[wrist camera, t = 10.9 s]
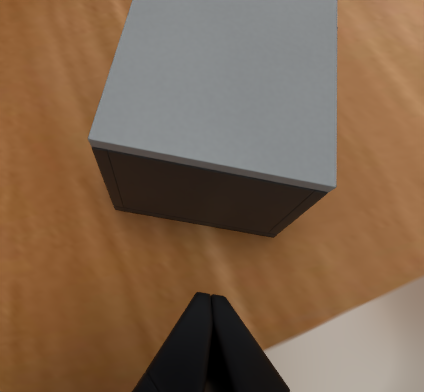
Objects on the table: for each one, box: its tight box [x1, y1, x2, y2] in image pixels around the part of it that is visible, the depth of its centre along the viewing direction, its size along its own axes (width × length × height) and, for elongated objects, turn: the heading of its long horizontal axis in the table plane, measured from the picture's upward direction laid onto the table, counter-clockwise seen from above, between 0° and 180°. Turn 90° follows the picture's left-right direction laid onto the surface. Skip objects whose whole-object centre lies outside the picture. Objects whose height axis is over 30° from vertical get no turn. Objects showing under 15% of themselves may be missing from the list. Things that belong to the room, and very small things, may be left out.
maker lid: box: [88, 0, 337, 192], centre depth 18 cm, size 14×13×1 cm
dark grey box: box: [92, 147, 328, 237], centre depth 23 cm, size 14×13×9 cm
